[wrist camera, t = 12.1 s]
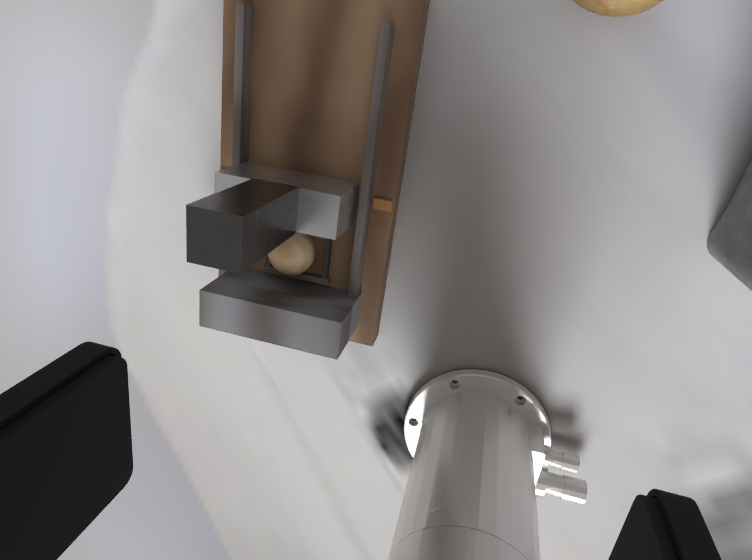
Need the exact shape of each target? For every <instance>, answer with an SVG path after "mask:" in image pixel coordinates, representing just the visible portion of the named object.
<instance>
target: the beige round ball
mask: <svg viewBox="0 0 752 560" xmlns="http://www.w3.org/2000/svg"><path fill="white" fill-rule="evenodd" d="M268 257H269V260H270V263H271V264H272V266H273V267H274V268H275V269H276V270H278V271H279V272H281V273H283V274H286V275H297V274H300V273H303V272H304V271H306V270H307V269H308V268H309V267H310V266H311V264H312V263H313V261H314V258H315V246H314V243H313V241H312V239H311V238H310V236H309V235H308V234H303V233H299V232H296V234H294V235H293V236H292V237H290V238H289V239H288V240H286V241H285V242H283V243H282V244H281V245H279V246H278V247H277V248H275V249H274V250H273V251H271V252H270V253H269V254H268Z"/></svg>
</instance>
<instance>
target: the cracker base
mask: <svg viewBox="0 0 752 560" xmlns="http://www.w3.org/2000/svg"><path fill="white" fill-rule="evenodd" d="M429 1H430V0H224V15H223V70H222V124H221V170H223V169H226V168H229V167H232V166H235V165H238V164H241V163H244V162H250V163H255V164H260V165H266V166H271V167H276V168H282V169H287V170H292V171H298V172H303V173H308V174H314V175H319V176H324V177H330V178H335V179H340V180H346V181H351V182H357V183H359V186H358V194H357V202H356V210H355V219H354V223H353V224H352V225H351V226H350V227H349V228H348V229H347V230H346V231H345V232H344V233H343V234H342V235H340V236H339V237H338V238H337V239H336V240H332V239H328V238H323V237H318V236H313V235H309V236H310V238H311V239H312V241H313V243H314V246H315V258H314V261H313V263H312V264H311V266H310V267H309V268H308V269H307V270H306V271H304V272H303V273H300V274H297V275H286V274H283V273H281V272H279V271H278V270H276V269H275V268H274V267H273V266H272V264H271V263H270V260H269V257H268V254H267V255H266V256H265V257H263V258H262V259H260V260H259V261H258V262H256V263H255V264H254V265H252V266H251V267H250V268H248V269H247V270H246V271H244V272H243V273H242V274H239V273H235V272H230V271H226V270H221V269H219V277H218V278H216V279H215V280H214V281H212V282H211V283H209V284H208V285H206V286H205V287H203V288H202V289H201V290H200V326H202V327H206V328H211V329H215V330H219V331H223V332H227V333H231V334H235V335H239V336H243V337H247V338H251V339H255V340H259V341H264V342H268V343H272V344H276V345H280V346H284V347H288V348H292V349H296V350H300V351H304V352H308V353H312V354H316V355H321V356H325V357H329V358H333V359H338V357H339V356H340V354H341V352H342V351H343V349H344V347H345V346H346V344H347V342H348V341H353V342H357V343H361V344H365V345H370V346H373V344H374V342H375V340H376V338H377V336H378V331H379V325H380V318H381V312H382V305H383V299H384V292H385V286H386V279H387V273H388V266H389V260H390V253H391V247H392V240H393V234H394V227H395V221H396V215H397V208H398V202H399V195H400V189H401V182H402V176H403V169H404V163H405V156H406V150H407V143H408V137H409V130H410V124H411V117H412V111H413V104H414V98H415V91H416V85H417V78H418V72H419V66H420V59H421V53H422V46H423V40H424V33H425V27H426V20H427V14H428V7H429Z"/></svg>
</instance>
